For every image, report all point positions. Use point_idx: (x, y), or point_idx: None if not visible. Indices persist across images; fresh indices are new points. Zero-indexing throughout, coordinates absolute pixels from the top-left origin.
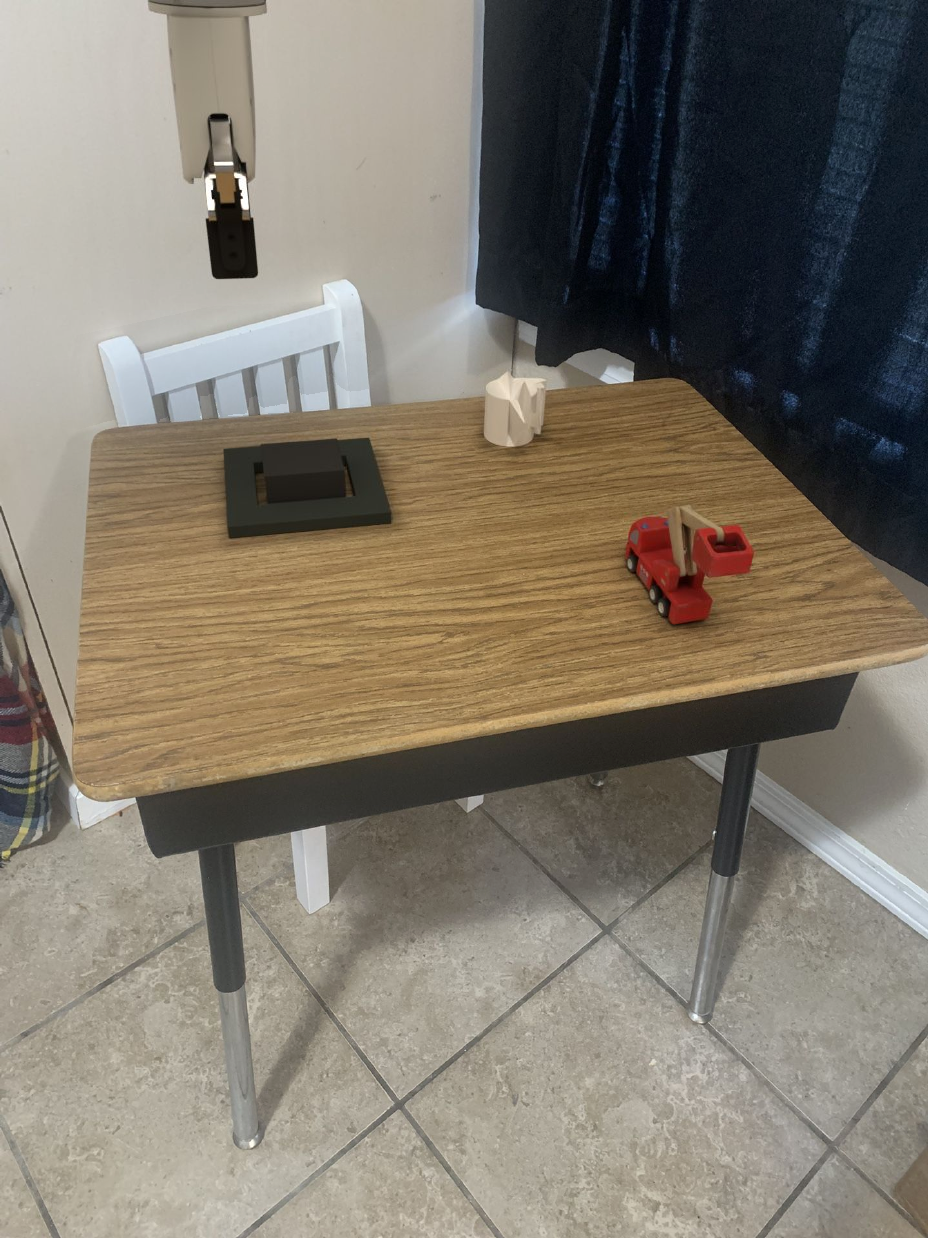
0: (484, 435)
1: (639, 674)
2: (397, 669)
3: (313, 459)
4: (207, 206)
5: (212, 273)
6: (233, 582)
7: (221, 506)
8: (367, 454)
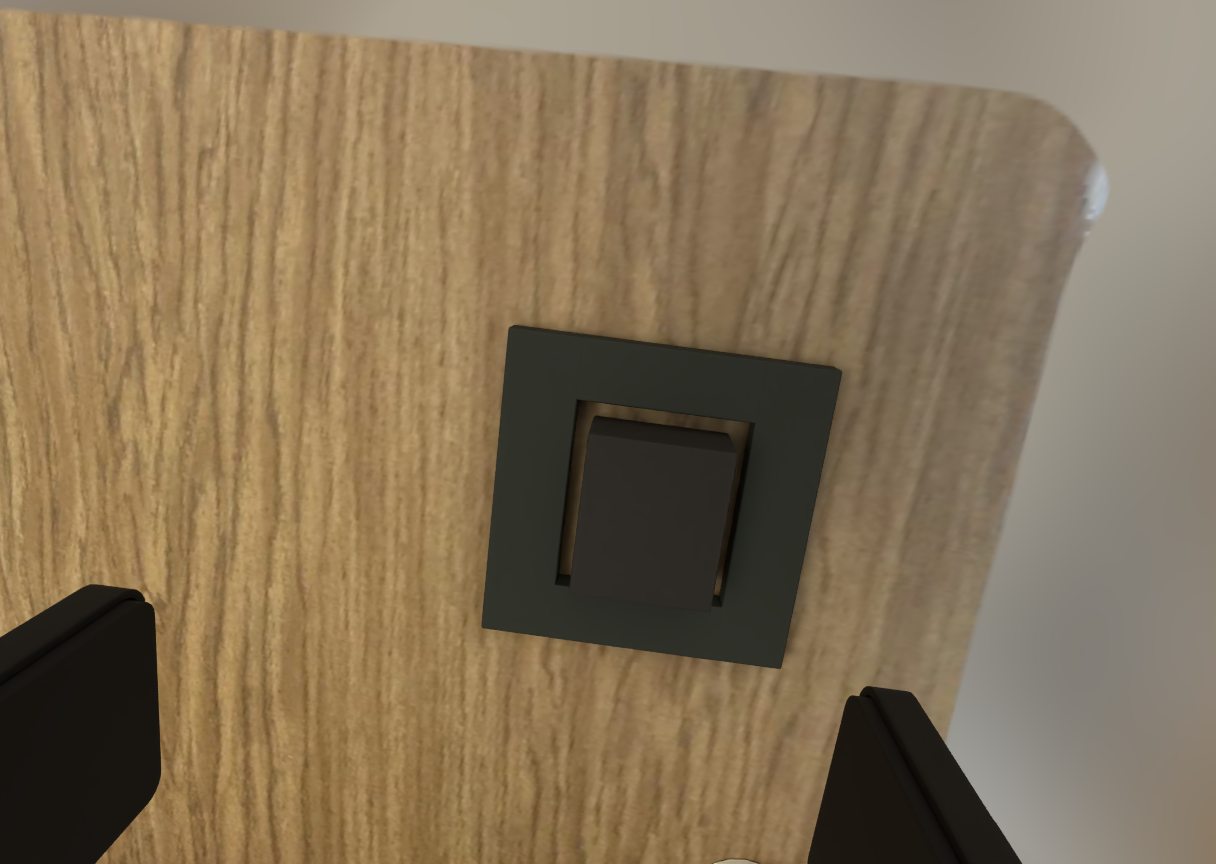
0: (744, 861)
1: None
2: (91, 511)
3: (630, 545)
4: (943, 818)
5: (81, 591)
6: (367, 309)
7: (639, 328)
8: (709, 647)
